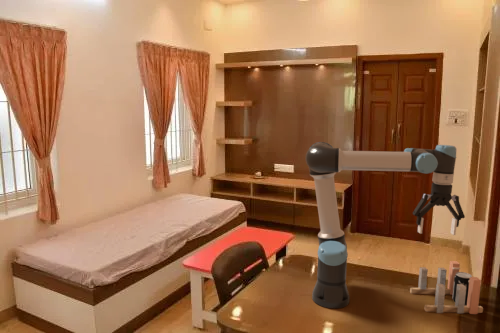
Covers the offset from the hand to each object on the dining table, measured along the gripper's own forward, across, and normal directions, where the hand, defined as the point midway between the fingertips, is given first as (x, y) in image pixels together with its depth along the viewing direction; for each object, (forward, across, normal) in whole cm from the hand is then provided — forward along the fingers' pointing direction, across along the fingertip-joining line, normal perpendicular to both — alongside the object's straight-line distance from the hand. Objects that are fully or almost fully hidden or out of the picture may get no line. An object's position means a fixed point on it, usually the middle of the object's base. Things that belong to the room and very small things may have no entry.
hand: (436, 233), depth 161 cm
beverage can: (+28, +11, -4) cm, 30 cm away
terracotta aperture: (+28, +12, -4) cm, 30 cm away
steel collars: (+28, +2, -4) cm, 28 cm away
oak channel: (+28, +4, -4) cm, 29 cm away
